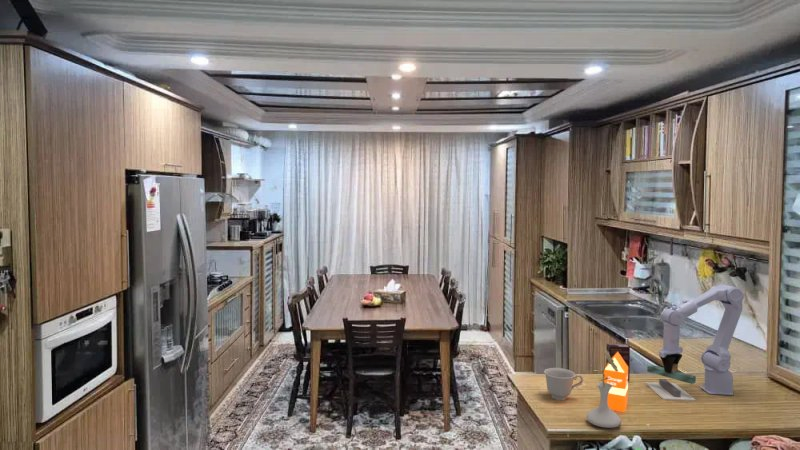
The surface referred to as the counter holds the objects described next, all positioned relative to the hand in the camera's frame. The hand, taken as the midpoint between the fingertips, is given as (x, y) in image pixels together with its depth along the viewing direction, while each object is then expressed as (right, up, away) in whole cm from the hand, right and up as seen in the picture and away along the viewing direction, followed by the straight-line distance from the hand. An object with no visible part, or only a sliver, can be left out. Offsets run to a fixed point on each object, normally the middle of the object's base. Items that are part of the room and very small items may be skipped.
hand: (670, 371), depth 205 cm
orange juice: (-29, -9, -14) cm, 33 cm away
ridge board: (0, -8, 0) cm, 8 cm away
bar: (0, -2, 0) cm, 2 cm away
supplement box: (-16, -8, +13) cm, 22 cm away
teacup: (-46, -9, -6) cm, 47 cm away
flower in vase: (-39, -10, -29) cm, 50 cm away
